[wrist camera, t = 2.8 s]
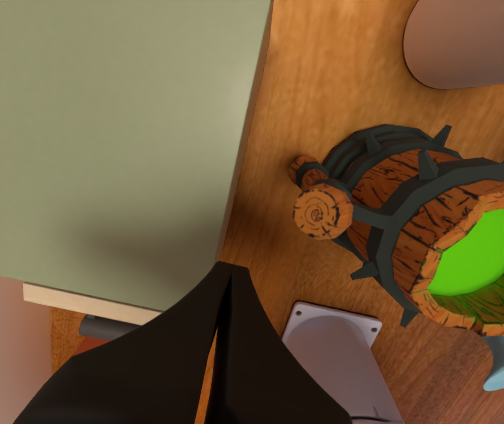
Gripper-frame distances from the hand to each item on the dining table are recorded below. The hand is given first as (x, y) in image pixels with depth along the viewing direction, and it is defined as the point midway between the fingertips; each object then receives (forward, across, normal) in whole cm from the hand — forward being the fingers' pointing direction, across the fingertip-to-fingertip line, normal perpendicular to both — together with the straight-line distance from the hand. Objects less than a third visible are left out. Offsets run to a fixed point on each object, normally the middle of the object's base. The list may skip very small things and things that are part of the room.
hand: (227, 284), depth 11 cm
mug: (+10, -8, -4) cm, 13 cm away
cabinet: (+10, +6, -4) cm, 12 cm away
